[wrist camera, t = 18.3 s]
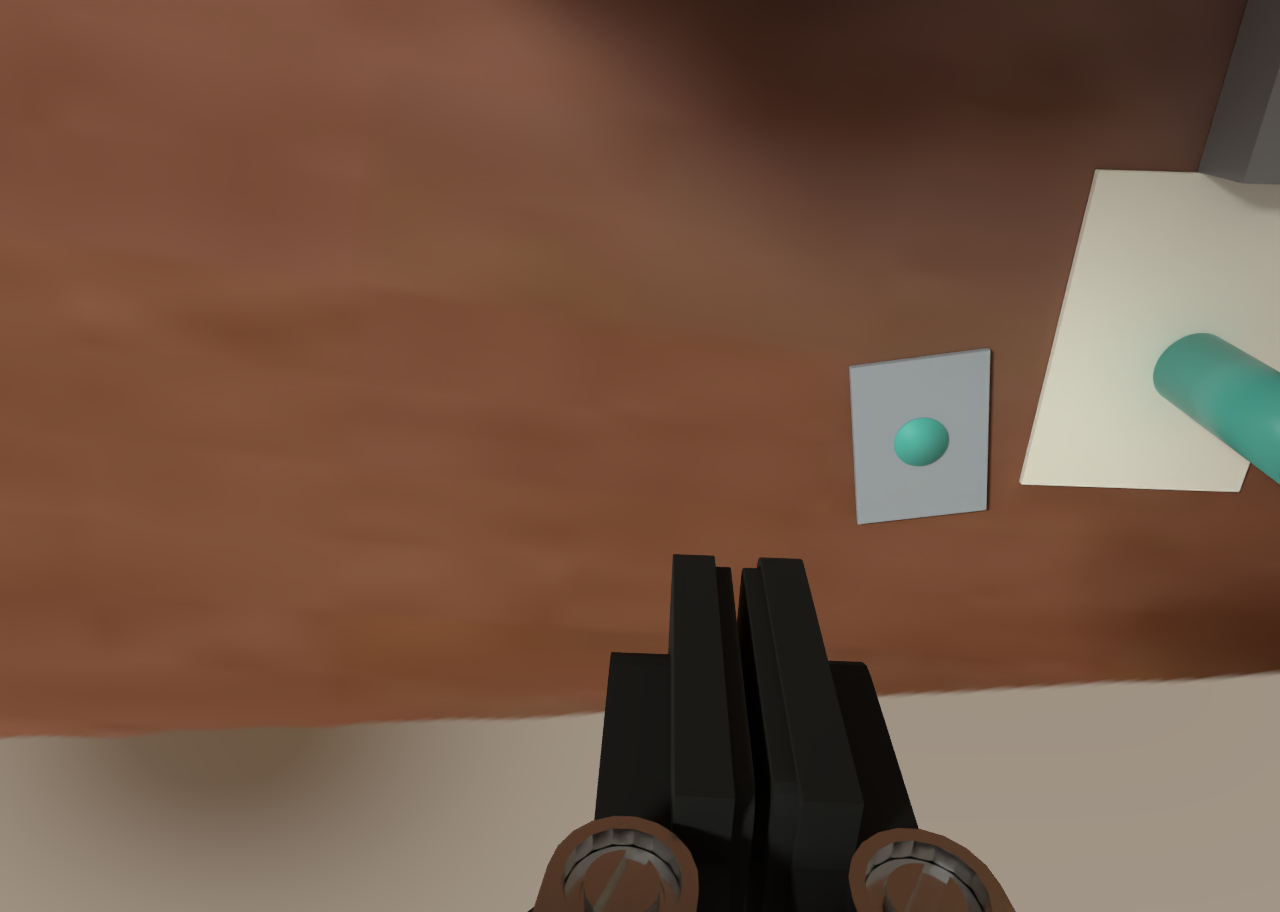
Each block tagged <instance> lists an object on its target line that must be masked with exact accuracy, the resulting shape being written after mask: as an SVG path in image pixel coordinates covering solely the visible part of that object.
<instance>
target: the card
mask: <svg viewBox="0 0 1280 912" xmlns="http://www.w3.org/2000/svg"><path fill="white" fill-rule="evenodd" d="M849 375H850V395H851V416H852V436H853V456H854V476H855V496H856V516H857V523H858V524H866V523H875V522H883V521H892V520H901V519H910V518H919V517H928V516H937V515H945V514H954V513H963V512H972V511H981V510H986V503H987V463H988V423H989V383H990V349H989V348H984V349H977V350H969V351H961V352H954V353H946V354H938V355H931V356H923V357H915V358H907V359H900V360H892V361H884V362H877V363H869V364H861V365H854V366H849Z"/></svg>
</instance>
